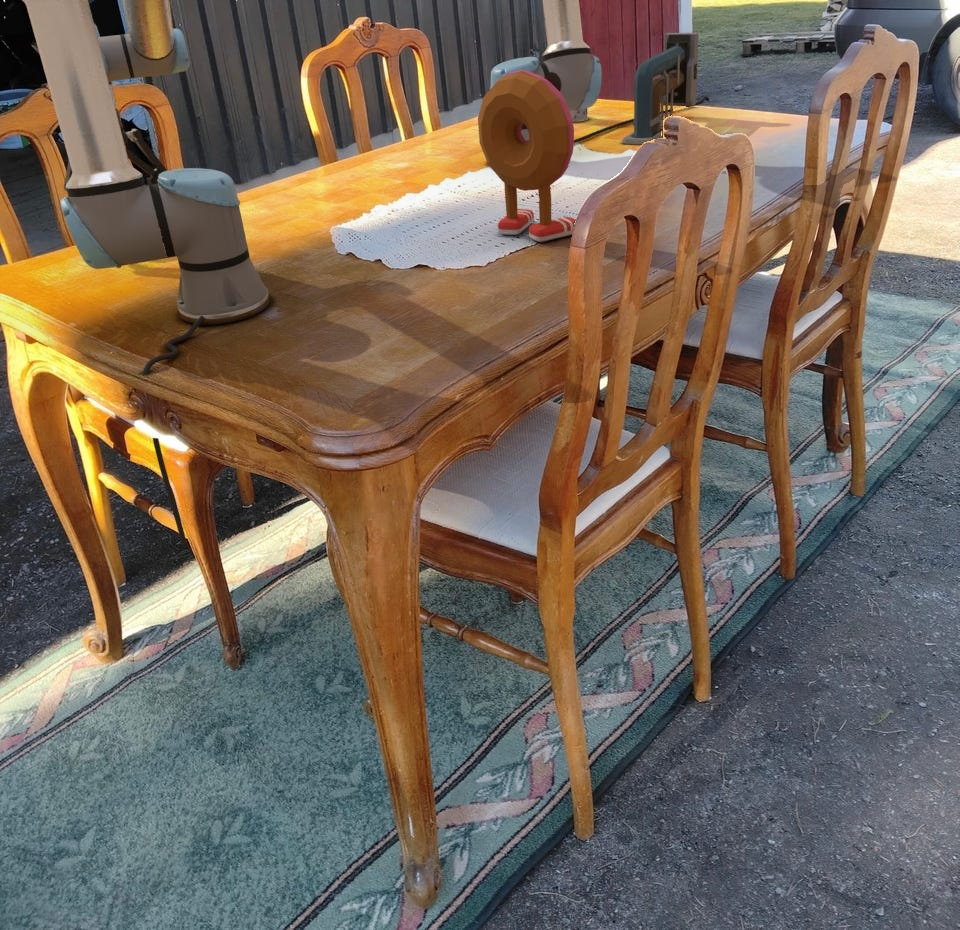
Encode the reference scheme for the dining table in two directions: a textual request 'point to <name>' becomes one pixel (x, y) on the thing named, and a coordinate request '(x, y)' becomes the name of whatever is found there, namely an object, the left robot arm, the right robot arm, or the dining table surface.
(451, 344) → the dining table surface
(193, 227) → the left robot arm
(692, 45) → the clamp
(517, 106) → the toy
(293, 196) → the dining table surface
